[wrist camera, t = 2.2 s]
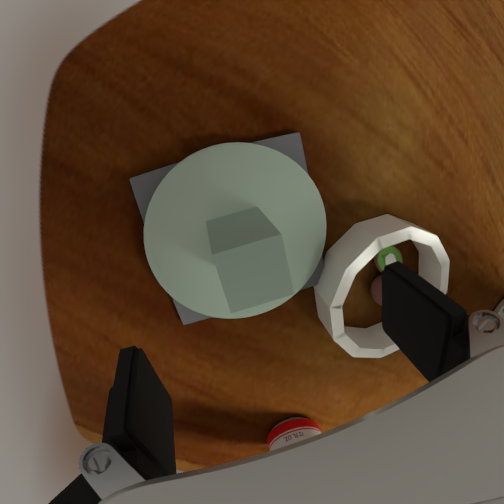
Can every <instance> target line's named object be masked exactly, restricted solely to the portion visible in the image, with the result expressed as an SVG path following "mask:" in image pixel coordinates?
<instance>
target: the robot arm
mask: <svg viewBox="0 0 504 504" xmlns="http://www.w3.org/2000/svg"><path fill="white" fill-rule="evenodd" d="M381 280H382V327H383V330H384V332H385V333H386V334H387V335H388V337H389V338H390V339H391V340H392V341H393V342H394V343H395V344H396V345H397V346H398V348H399V349H400V350H401V351H402V352H403V353H404V354H405V355H406V356H407V358H408V359H409V360H410V361H411V362H412V363H413V364H414V365H415V367H416V368H417V369H418V370H419V371H420V372H421V373H422V375H423V376H424V377H425V378H426V379H427V380H428V381H429V383H427V384H425V385H424V386H422V387H420V388H418V389H416V390H415V391H413V392H411V393H409V394H407V395H405V396H403V397H401V398H399V399H397V400H395V401H393V402H391V403H389V404H387V405H385V406H383V407H381V408H379V409H377V410H375V411H373V412H370V413H368V414H366V415H364V416H362V417H359V418H357V419H355V420H353V421H350V422H348V423H346V424H343V425H341V426H338V427H336V428H333V429H331V430H328V431H326V432H323V433H321V434H318V435H315V436H313V437H310V438H307V439H304V440H302V441H299V442H296V443H293V444H290V445H287V446H284V447H281V448H278V449H275V450H271V451H268V452H265V453H261V454H258V455H255V456H251V457H247V458H244V459H240V460H236V461H232V462H228V463H224V464H220V465H216V466H211V467H207V468H203V469H198V470H193V471H189V472H183V473H178V474H176V462H175V449H174V433H173V413H172V401H171V398H170V396H169V394H168V392H167V391H166V389H165V387H164V386H163V384H162V382H161V381H160V379H159V377H158V376H157V374H156V372H155V371H154V369H153V367H152V365H151V364H150V362H149V360H148V358H147V357H146V355H145V353H144V351H143V350H142V349H141V348H140V349H138V348H137V347H136V346H132V347H128V348H124V349H121V350H120V353H119V358H118V363H117V369H116V375H115V380H114V386H113V387H112V388H111V389H110V391H109V397H108V403H107V410H106V416H105V423H104V430H103V438H102V443H96V444H93V445H91V446H89V447H87V448H86V449H85V450H84V451H83V452H82V454H81V456H80V459H79V469H80V471H81V474H80V475H79V476H78V477H77V478H76V479H75V480H74V481H73V482H71V483H70V484H69V485H68V486H67V487H66V488H65V489H64V490H63V491H62V492H61V493H59V494H58V495H57V496H56V497H55V498H54V499H53V500H52V501H51V502H50V503H49V504H504V299H503V300H502V301H501V302H500V303H499V304H498V306H497V307H496V308H495V310H494V311H491V310H478V311H476V312H474V313H473V314H471V316H468V315H467V314H466V310H465V309H464V308H462V307H461V306H460V305H458V304H457V303H456V302H454V301H453V300H452V299H450V298H449V297H448V296H447V295H445V294H444V293H443V292H441V291H440V290H439V289H437V288H436V287H434V286H433V285H432V284H430V283H429V282H428V281H426V280H425V279H424V278H422V277H421V276H419V275H418V274H417V273H415V272H414V271H413V270H411V269H410V268H408V267H407V266H405V265H404V264H403V263H401V262H400V261H396V262H393V263H391V264H388V265H386V266H385V267H384V270H383V271H382V273H381Z"/></svg>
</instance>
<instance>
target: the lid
mask: <svg viewBox="0 0 504 504" xmlns="http://www.w3.org/2000/svg"><path fill="white" fill-rule="evenodd" d="M326 226H327V224H326V213H325V209H324V205H323V201H322V198H321V196H320V193H319V191H318V189H317V187H316V186H315V184H314V182H313V181H312V179H311V178H310V177H309V175H308V174H307V173H306V172H305V171H304V170H303V169H302V168H301V167H300V166H299V165H298V164H297V163H296V162H295V161H293V160H292V159H291V158H289V157H288V156H286V155H284V154H282V153H281V152H279V151H277V150H274V149H271V148H269V147H266V146H262V145H257V144H253V143H243V142H232V143H222V144H217V145H213V146H210V147H207V148H204V149H201V150H199V151H197V152H195V153H193V154H191V155H189V156H188V157H186V158H185V159H183V160H182V161H181V162H179V163H178V164H177V165H176V166H175V167H174V168H173V169H172V170H170V171H169V172H168V174H167V175H166V176H165V177H164V179H163V180H162V181H161V183H160V184H159V186H158V187H157V189H156V191H155V192H154V194H153V196H152V199H151V201H150V203H149V206H148V209H147V213H146V217H145V223H144V246H145V252H146V256H147V260H148V263H149V266H150V268H151V270H152V272H153V274H154V276H155V277H156V279H157V280H158V282H159V283H160V285H161V286H162V287H163V288H164V290H165V291H166V292H167V293H168V294H169V295H170V296H171V297H173V298H174V299H175V300H176V301H178V302H179V303H181V304H182V305H184V306H185V307H187V308H189V309H191V310H193V311H195V312H198V313H201V314H203V315H207V316H211V317H216V318H226V319H233V318H245V317H251V316H255V315H259V314H262V313H264V312H267V311H270V310H272V309H274V308H276V307H278V306H280V305H281V304H283V303H284V302H286V301H287V300H289V299H290V298H291V297H292V296H294V295H295V294H296V293H297V292H298V291H299V290H300V289H301V288H302V287H303V286H304V285H305V284H306V282H307V281H308V280H309V278H310V277H311V276H312V274H313V272H314V271H315V269H316V267H317V265H318V263H319V260H320V258H321V256H322V252H323V249H324V245H325V239H326Z"/></svg>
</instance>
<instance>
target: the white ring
mask: <svg viewBox="0 0 504 504" xmlns="http://www.w3.org/2000/svg"><path fill="white" fill-rule="evenodd" d="M409 239H410V240H412V241H413V243H414V245H415V246H416V248H417V250H418V252H419V273H418V275H419V276H421V277H422V278H424V279H425V280H426V281H428V282H429V283H430V284H432V285H433V286H434V287H436V288H437V289H439V290H440V291H441V292H443V293H444V294H445V295H446V293H447V289H448V277H449V263H450V260H449V258H448V256H447V254H446V252H445V250H444V248H443V246H442V244H441V242H440V240H439V238H438V236H437V235H435V234H433V233H431V232H429V231H427V230H425V229H423V228H421V227H419V226H417V225H415V224H413V223H411V222H408V221H406V220H403V219H400V218H397V217H395V216H392V215H389V214H385V215H382V216H379V217H375V218H372V219H369V220H365V221H362V222H358V223H355V224H354V225H353V226H352V227H351V228H350V229H349V230H348V231H347V232H346V233H345V234H344V235H343V236H342V237H341V238H340V239H339V240H338V241H337V242H336V243H335V244H334V245H333V246H332V247H331V248H330V249H329V250H328V251H327V252H326V255H325V258H324V260H323V263H324V269H323V272H322V274H321V277H320V279H319V282H318V285H315V286H314V293H315V300H316V306H317V313H318V318H319V319H320V321H321V322H322V324H323V325H324V327H325V328H326V330H327V331H328V333H329V334H330V336H331V337H332V339H333V340H334V341H335V342H336V343H337V344H339V345H340V346H341V347H342V348H343V349H344V350H345V351H346V352H348V353H349V354H350V355H351V356H352V357H362V358H382V357H384V356H386V355H388V354H390V353H393V352H395V351H397V350H399V348H398V346H397V345H396V344H395V343H394V342H393V341H392V340H391V339H390V338H389V337H388V335H387V334H386V333H385V332H384V330H383V327H382V322H380V323H378V324H375V325H373V326H371V327H368V328H356V327H347V326H344V321H343V311H342V306H343V303H344V301H345V299H346V296H347V294H348V292H349V289H350V287H351V285H352V282H353V280H354V277H355V275H356V274H357V273H358V272H359V271H360V270H361V269H362V268H363V267H364V266H365V265H366V264H367V263H368V262H369V261H370V260H371V259H372V258H373V257H374V256H375V255H376V254H377V253H378V252H379V251H380V250H381V249H383V248H386V247H389V246H392V245H395V244H397V243H400V242H403V241H406V240H409Z"/></svg>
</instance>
